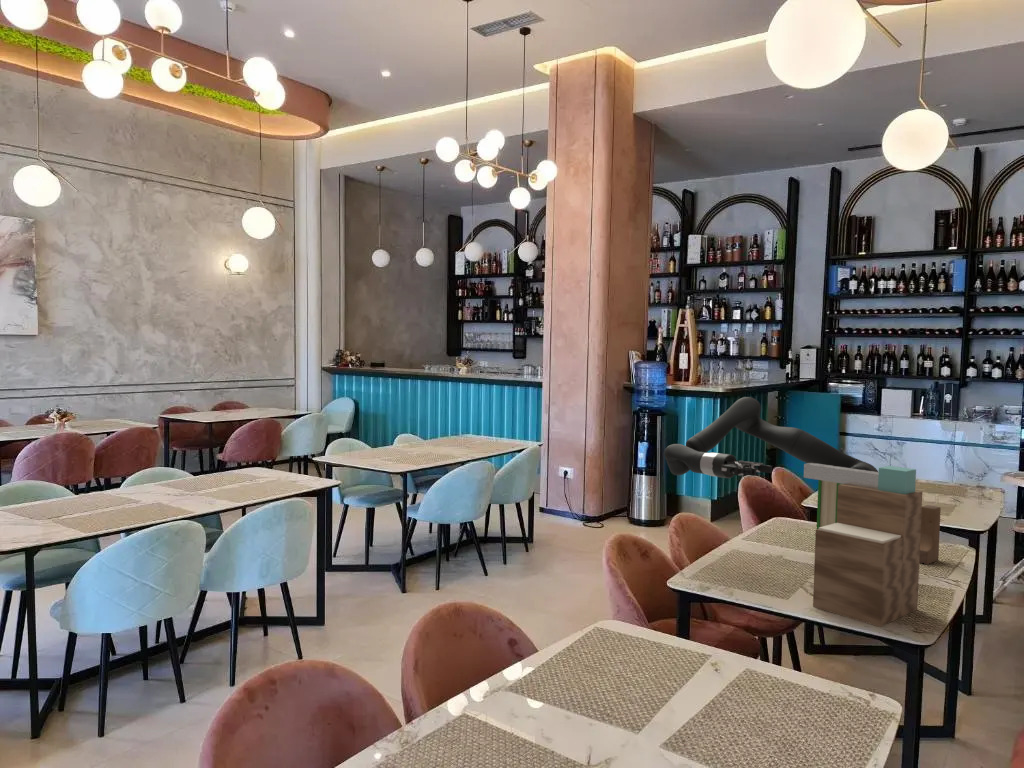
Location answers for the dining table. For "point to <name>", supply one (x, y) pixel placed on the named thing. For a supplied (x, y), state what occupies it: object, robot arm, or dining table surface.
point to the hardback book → (827, 503)
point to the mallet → (865, 477)
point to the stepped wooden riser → (869, 556)
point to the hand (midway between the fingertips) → (763, 470)
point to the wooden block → (929, 534)
